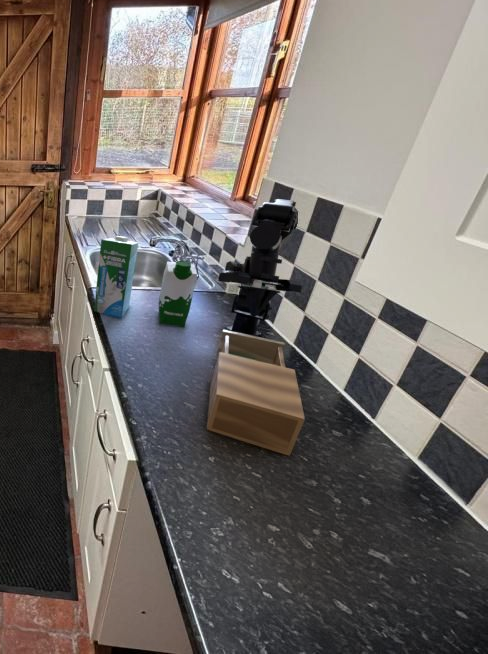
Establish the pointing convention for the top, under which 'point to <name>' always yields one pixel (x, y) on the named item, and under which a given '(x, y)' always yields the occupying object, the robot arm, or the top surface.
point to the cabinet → (255, 403)
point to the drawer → (252, 347)
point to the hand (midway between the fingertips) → (253, 315)
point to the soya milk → (176, 293)
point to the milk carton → (115, 275)
